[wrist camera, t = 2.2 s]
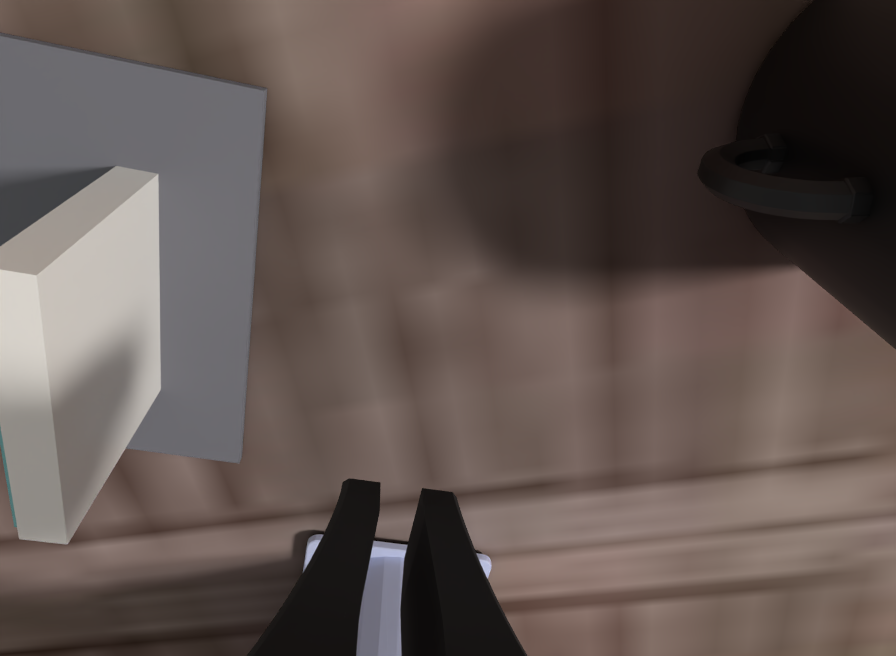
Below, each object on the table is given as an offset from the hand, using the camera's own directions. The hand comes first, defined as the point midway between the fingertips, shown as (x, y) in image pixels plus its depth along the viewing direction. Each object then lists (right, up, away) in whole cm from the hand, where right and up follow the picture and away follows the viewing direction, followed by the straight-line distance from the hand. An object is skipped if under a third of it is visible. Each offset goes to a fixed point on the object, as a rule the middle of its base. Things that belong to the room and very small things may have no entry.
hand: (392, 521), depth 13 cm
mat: (-12, +6, +8) cm, 16 cm away
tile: (-9, +5, +8) cm, 13 cm away
